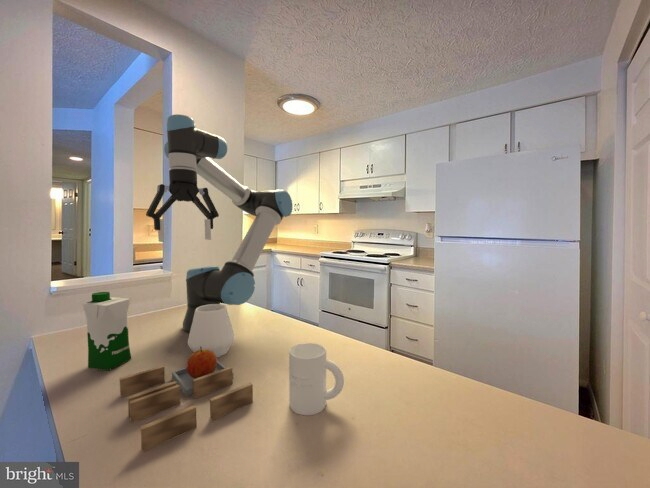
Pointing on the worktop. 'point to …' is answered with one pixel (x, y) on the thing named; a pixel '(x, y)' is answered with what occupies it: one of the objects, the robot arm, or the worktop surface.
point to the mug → (311, 378)
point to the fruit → (201, 363)
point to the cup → (211, 329)
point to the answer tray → (189, 379)
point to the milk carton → (107, 331)
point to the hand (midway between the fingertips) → (186, 240)
